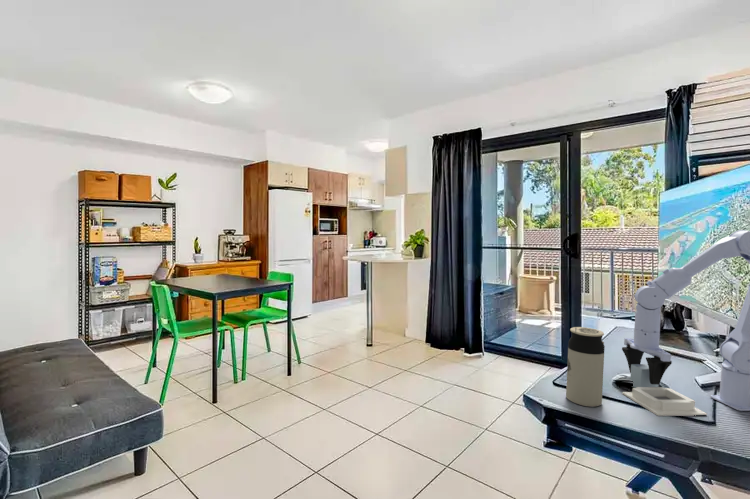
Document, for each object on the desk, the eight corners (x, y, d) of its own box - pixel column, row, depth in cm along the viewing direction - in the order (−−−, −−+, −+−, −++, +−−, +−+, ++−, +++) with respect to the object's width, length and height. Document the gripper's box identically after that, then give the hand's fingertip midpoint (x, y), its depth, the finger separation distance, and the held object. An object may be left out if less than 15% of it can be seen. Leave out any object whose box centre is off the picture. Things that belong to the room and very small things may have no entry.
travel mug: (603, 399, 97) (606, 330, 96) (599, 410, 91) (603, 336, 90) (569, 391, 102) (572, 325, 101) (563, 401, 96) (566, 330, 95)
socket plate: (665, 393, 101) (666, 384, 101) (706, 415, 89) (707, 405, 89) (622, 393, 101) (622, 384, 101) (657, 415, 89) (658, 405, 89)
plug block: (647, 385, 107) (648, 364, 107) (658, 391, 103) (659, 369, 103) (629, 385, 107) (631, 364, 107) (640, 391, 103) (641, 369, 103)
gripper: (615, 323, 112) (612, 368, 112) (653, 337, 97) (650, 389, 98) (638, 323, 112) (635, 368, 113) (679, 337, 97) (676, 389, 98)
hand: (644, 378), depth 105 cm, fingers open, 7 cm apart
